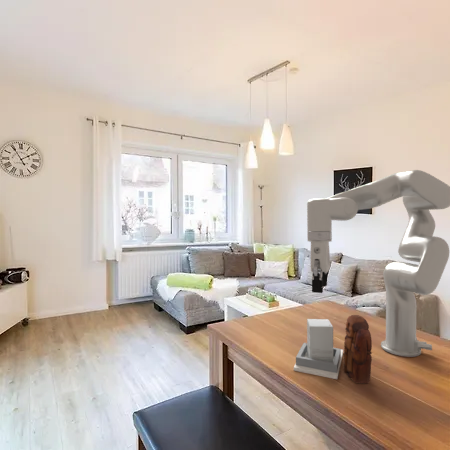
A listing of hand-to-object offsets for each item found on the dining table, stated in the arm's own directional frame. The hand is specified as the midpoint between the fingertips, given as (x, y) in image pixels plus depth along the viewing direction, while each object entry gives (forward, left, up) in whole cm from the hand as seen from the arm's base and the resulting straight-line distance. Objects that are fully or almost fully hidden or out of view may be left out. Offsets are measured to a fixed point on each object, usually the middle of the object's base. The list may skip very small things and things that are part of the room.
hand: (319, 288), depth 102 cm
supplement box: (0, 0, -24) cm, 24 cm away
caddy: (0, -2, -25) cm, 25 cm away
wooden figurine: (-11, +3, -25) cm, 27 cm away
